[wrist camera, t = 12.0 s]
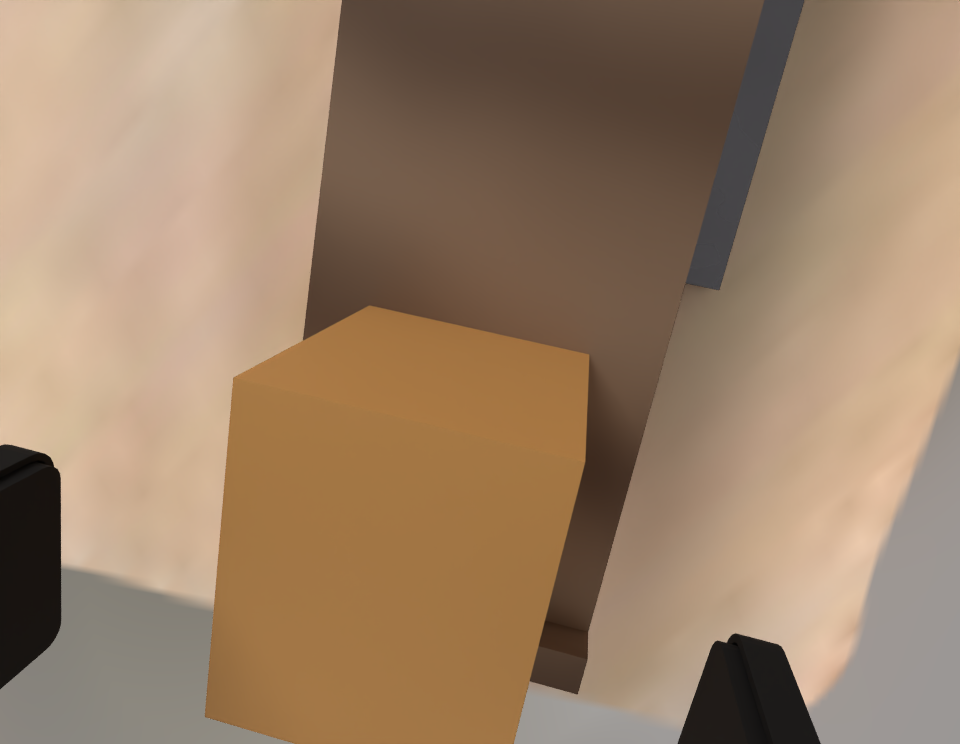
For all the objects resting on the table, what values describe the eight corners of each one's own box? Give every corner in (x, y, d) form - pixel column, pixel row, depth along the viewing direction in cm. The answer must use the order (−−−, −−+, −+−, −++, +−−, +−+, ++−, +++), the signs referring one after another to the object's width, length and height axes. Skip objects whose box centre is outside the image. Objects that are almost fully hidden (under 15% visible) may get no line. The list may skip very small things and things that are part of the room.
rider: (369, 305, 15) (233, 377, 10) (589, 354, 15) (584, 461, 9) (336, 537, 17) (204, 716, 11) (532, 589, 16) (498, 804, 11)
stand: (392, -143, 19) (313, -271, 14) (819, -79, 18) (914, -192, 13) (318, 431, 25) (240, 500, 19) (647, 512, 23) (663, 610, 18)
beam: (486, -948, 11) (456, -1263, 9) (1008, -936, 10) (1135, -1281, 8) (299, 553, 19) (256, 605, 17) (579, 628, 18) (577, 694, 16)
